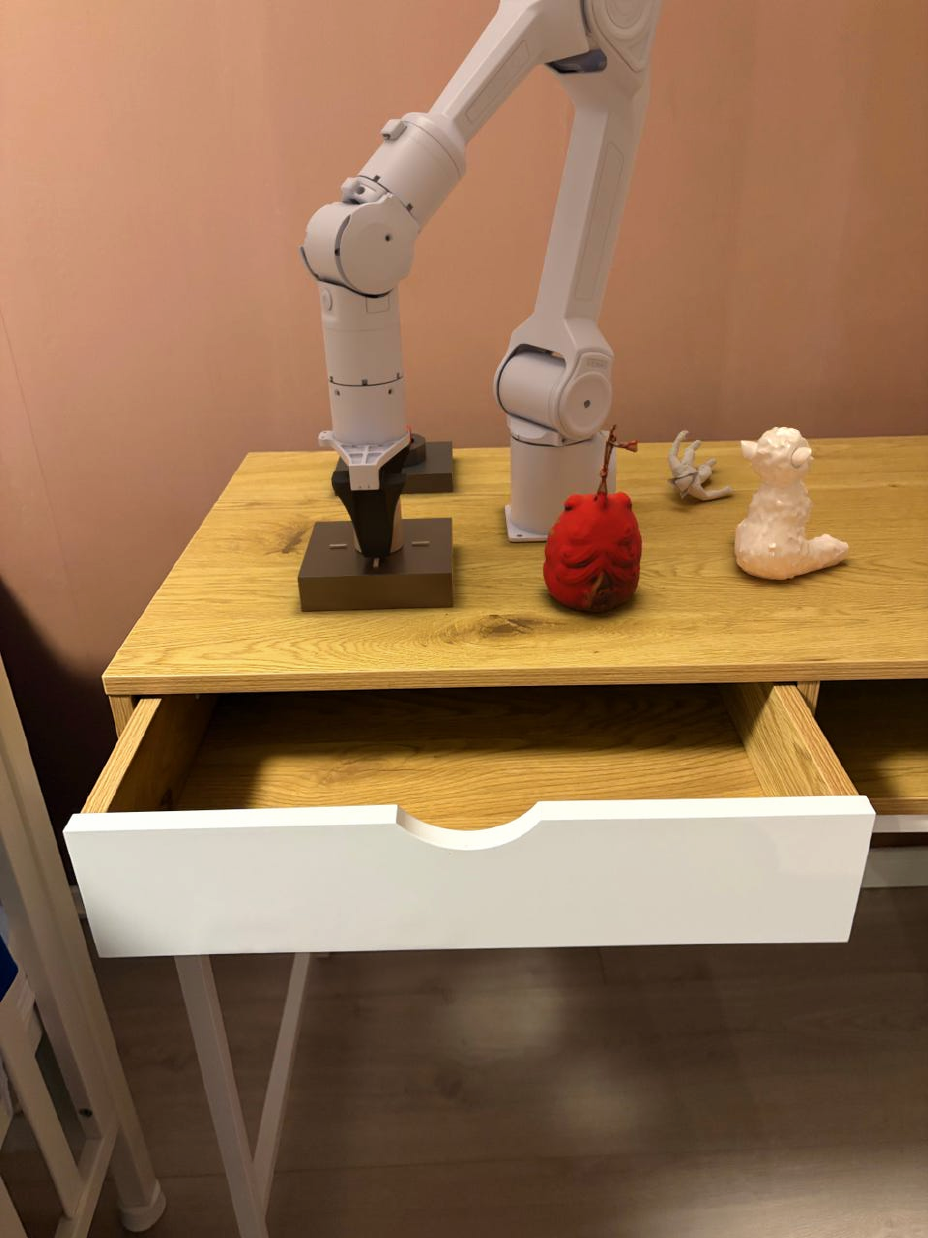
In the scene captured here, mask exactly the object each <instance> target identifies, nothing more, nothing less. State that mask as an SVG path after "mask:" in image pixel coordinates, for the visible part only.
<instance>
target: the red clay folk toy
mask: <svg viewBox="0 0 928 1238" xmlns="http://www.w3.org/2000/svg"><path fill="white" fill-rule="evenodd" d="M617 428H618V425H617V424H616V423H614V424H612V425H611V426H610V429H609V430H608V431H609V436H608V437H607V436H605V435H604V433H603V432H602V431H601V430H602V429H601V428H600V429H599V430H598V431H599V433H600V434H601V435H602V436H603V437H604V438H605V439H606V445H605V454H604V465H602V466H601V467H599V475H600V477H601V481H600V484H599V487H598V489H597V492H596V494H586V495H578V494H573V495H571V496H570V497H569V498H568V499H567V500H566V501H565V503H564V507H565V510H564V512H563V513H562V514H561V515H560V516H559V517H558V519H557V521H556V522H555V524H554V526H553V527H552V528H551V529H550V530H549V533H548V538H547V541H545V545H544V551H543V552H544V553H543V554H544V558H545V559H544V562H543V565H542V577H543V581H544V583H545V585H546V588H547V591H548V592H549V595H550V596H551V597H552V598H553V599H554V600H556V601H557V602H559V603H560V604H561V605H562V606H565V607H567V608H569V609H572V610H576V611H580V612H589V613H603V612H608V611H610V610H612V609H613V610H614V609H616V608H618V607H620V606H621V605H622V604H624V603H625V602H626V601H628V600H629V599H630V598H631V596H633V595H634V593H635V591H636V590H637V588H638V587H639V582H640V577H641V576H640V574H641V559H642V556H643V555H642V554H643V553H642V552H643V540H642V535H641V531H640V528H639V522H638V520H637V516H636V515H635V513H634V511H633V503H632V499H631V497H630V496H629V495H628V494H627V493H625V492H623V491H617V492H615V494H608V491H607V484H606V479H607V476H608V471H609V469H608V465H609V461H610V456H611V453H612V449H613V448H614V447H616V449H624V450H626V451H630V452H633V453H637V452H638V451H639V447H638V446H639V444H638V443H639V442H638V441H639V440H638V439H635V440H632V441H630V442H625V441H617V436H616V434H614V432H615V430H616V429H617Z"/></svg>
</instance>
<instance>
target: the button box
mask: <svg viewBox="0 0 928 1238" xmlns="http://www.w3.org/2000/svg"><path fill="white" fill-rule="evenodd" d="M411 442H412V444H410V452H409V454H408V456H407V458H406V461H405V463H404V466H403V469H402V472H401V473H407V477H406V483H405V485H404V488H403V490H402V492H401V494H400V495H415V494H416V495H417V494H444V493H445V494H449V493H451V494H452V493H454V454H453V453H454V451H453V441H452V440H450V441H449V440H447V441H426V437H424V436H423V435H421V434H419V433H414V432H411ZM334 471H349V467H348V465H347V464H346V463H345V462H344V460H343V459H342V458H341V457H340V456H339V458H338V460H337V464H336V467H335V469H334ZM334 496H335V497H338V496H337V494H336V493H335V492H334Z"/></svg>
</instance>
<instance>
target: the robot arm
mask: <svg viewBox="0 0 928 1238" xmlns="http://www.w3.org/2000/svg"><path fill="white" fill-rule="evenodd" d="M663 3H664V0H499V5H498V9H497V11H496V13H495V14H494V16H493V18H492V19H491V20H490V22H489V23H488V25H487V26H486V28H485V30H483V32H482V34H481V35H480V37H479V38H478V39H477V41H476V42H475V44H474V45H473V47H472V48H471V50H470V51H469V53H468V54H467V56H466V57H465V59H464V60H462V63H461V64H460V66H459V67H458V69H457V70H456V71H455V73H454V74H453V76H452V78H451V79H450V80H449V82H448V83H447V85H446V86H445V88H444V89H443V91H442V92H441V93H440V95H439V97H437V99H436V101H435V102H434V103H433V105H432V106H431V108H430V109H429V111H428V112H421V111H419V112H418V111H411V112H407V113H405V114H404V115H402V117H401V118H399V119H398V118H396V119H395V118H394V119H393V118H392V119H389V120H388V121H387V122H386V124H385V125H384V126H383V128H382V129H381V130H380V136H381V137H382V138H383V139H384V140H383V142H382V143H381V144H380V145H379V146H378V148H377V149H376V150H375V152H374V153H373V154H372V156H371V157H370V158H369V160H368V161H367V162H366V163H365V164H364V166H363V167H362V168H361V170H360V171H359V172H358V173H357V174H356V176H355V177H347V178H346V180H345V181H344V182H342V184H341V186H340V191H341V192H342V194H341V201H334V202H331V203H330V204H329V203H327V204H325V205H323V206H322V207H320V208H318V210H316V211H315V213H314V214H313V215H312V217H311V218H310V220H309V221H308V223H307V226H306V228H305V233H306V234H305V237H304V239H303V242H304V243H303V244H302V245H300V246H299V247H298V252H299V257H300V259H301V263H302V264H303V265H302V266H303V267H304V268H305V270H306V272H307V273H308V274H309V275H310V277H311V278H312V279H313V280H314V281H315V284H316V286H317V288H318V295H319V303H320V304H319V305H320V313H321V314H320V315H321V316H320V317H321V325H322V326H321V328H322V336H323V345H324V346H323V347H324V355H325V366H326V376H327V385H328V395H329V396H328V397H329V405H330V416H331V425H332V426H331V427H332V429H331V430H323V431H322V430H321V432H319V434H318V437H317V441H318V446H319V447H322V448H327V447H328V448H333V449H334V451H335V452H336V453H337V455H338V456H339V457H341V458H342V459H343V460H344V462H345V463H346V464H347V465H348V467H349V471H335V470H334V471H333V472H332V474H331V478H330V481H331V487H332V489H333V492H334V494H335V493H336V494H337V496H336V497H338V498H339V500H340V501H341V503H342V504H343V506H344V508H345V510H346V512H347V514H348V516H349V519H350V521H352V524H353V527H354V530H355V533H356V537H357V540H358V543H359V546H360V549H361V551H362V554H363V556H364V557H365V558H366V557H388V556H389V555H390V551H391V546H392V538H393V527H394V515H395V510H396V506H397V502H398V499H399V497H400V498H401V495H402V494H401V492H402V490H403V488H404V485H405V483H406V477H407V473H401V472H402V469H403V466H404V463H405V461H406V458H407V456H408V454H409V452H410V432H409V429H408V428H407V423H408V422H407V410H406V409H407V406H406V393H405V392H406V391H405V379H404V378H405V377H404V363H403V348H402V347H403V346H402V345H403V344H402V331H401V330H402V329H401V313H400V311H401V310H400V298H399V297H400V296H399V295H400V294H399V284H400V283H401V282H402V281H403V280H405V279H406V278H408V276H409V274H410V271H411V269H412V266H413V261H414V251H415V243H416V241H417V239H418V238H419V236H420V233H421V232H422V231H423V230H424V228H425V227H426V226H427V225H428V223H429V222H430V220H431V219H432V218H433V216H435V214H436V213H437V211H438V210H439V209H440V208H441V206H442V205H443V204H444V202H445V201H446V200H447V198H448V197H449V196H450V194H452V192H453V191H454V189H456V187H457V186H458V184H459V183H460V182H461V180H462V179H463V178H464V176H465V175H466V173H467V155H466V147H467V146H468V144H469V143H470V142H471V141H472V139H473V138H474V137H475V136H476V135H477V134H478V133H479V132H480V131H481V129H483V128H484V126H485V125H486V124H487V123H488V122H489V120H490V119H491V118H492V117H493V116H494V115H495V114H496V112H498V110H499V109H500V108H501V106H502V105H504V103H505V102H506V101H507V100H508V99H509V98H510V96H511V95H512V94H513V93H514V92H515V91H516V90H517V88H518V87H519V86H520V85H521V84H522V82H523V81H524V80H525V79H526V78H527V77H528V76H529V74H531V72H532V71H533V70H534V69H535V68H536V67H538V66H539V65H540V66H541V67H542V68H544V70H546V71H547V73H548V74H549V75H550V76H551V77H552V78H553V79H554V80H555V81H556V82H557V83H558V84H559V85H560V87H561V88H562V89H563V90H565V92H566V94H567V96H568V97H569V99H570V101H571V103H572V105H573V107H574V110H575V112H574V119H573V124H572V128H571V133H570V138H569V142H568V146H567V153H566V157H565V161H564V166H563V172H562V177H561V180H560V186H559V191H558V195H557V199H556V205H555V210H554V214H553V219H552V224H551V229H550V234H549V239H548V243H547V248H546V253H545V258H544V263H543V268H542V272H541V277H540V280H539V286H538V292H537V296H536V302H535V305H534V310H533V312H532V313H531V315H530V316H529V317H527V318H526V319H525V320H524V321H523V322H522V323H520V324H519V325H518V326H517V327H516V328H515V329H514V330H513V331H512V333H511V334H510V339H509V343H508V344H509V345H508V348H507V350H506V353H505V355H504V356H503V358H502V360H501V361H500V363H499V364H498V365H497V368H496V370H495V374H494V377H493V382H492V394H493V398H494V401H495V404H496V406H497V408H498V409H499V410H500V411H501V413H502V414H505V416H506V427H507V428H509V431H510V434H509V443H510V444H509V445H510V451H509V452H510V504H506V505H505V506H504V514H505V515H504V516H505V523H506V530H507V538H508V541H509V542H511V543H523V542H525V543H526V542H547V538H548V533H549V530H550V529H551V528H552V527H553V526H554V524H555V522H556V521H557V519H558V517H559V516H560V515H561V514H562V513H563V512H564V510H565V507H564V503H565V501H566V500H567V499H568V498H569V497H570V496H571V495H573V494H578V495H586V494H596V492H597V489H598V487H599V484H600V481H601V477H600V475H599V467H601V466H602V465H604V454H605V445H606V439H605V438H604V437H603V436H602V435H601V434H600V433H599V431H598V430H599V429H600V430H601V431H602V432H603V433H604V435H605V436H607V437H608V436H609V431H610V430H605V429H601V427H603V425H604V424H605V422H606V420H607V418H608V416H609V413H610V411H611V408H612V404H613V386H612V370H613V366H614V361H615V353H614V351H613V349H612V348H611V346H610V345H609V343H608V341H607V340H606V339H605V337H604V334H603V333H602V332H601V330H600V329H599V326H598V324H599V320H600V315H601V311H602V308H603V307H602V306H603V303H604V299H605V293H606V291H607V290H606V289H607V285H608V281H609V277H610V272H611V268H612V264H613V259H614V255H615V251H616V246H617V242H618V237H619V233H620V229H621V225H622V222H623V217H624V212H625V207H626V203H627V199H628V195H629V191H630V186H631V182H632V178H633V174H634V168H635V164H636V161H637V155H638V151H639V147H640V143H641V139H642V133H643V129H644V125H645V121H646V117H647V113H648V108H649V103H650V98H651V88H652V87H651V86H652V84H651V78H652V77H651V74H652V73H651V72H652V71H651V69H652V68H651V56H652V53H653V52H652V51H653V47H654V42H655V38H656V33H657V29H658V25H659V21H660V16H661V11H662V7H663ZM554 353H558V354H560V355H561V356H562V357H561V356H557V355H554ZM608 469H609V471H608V476H607V479H606V484H607V491H608V494H615V493H616V485H617V447H614V448H613V449H612V453H611V456H610V461H609V465H608Z"/></svg>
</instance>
